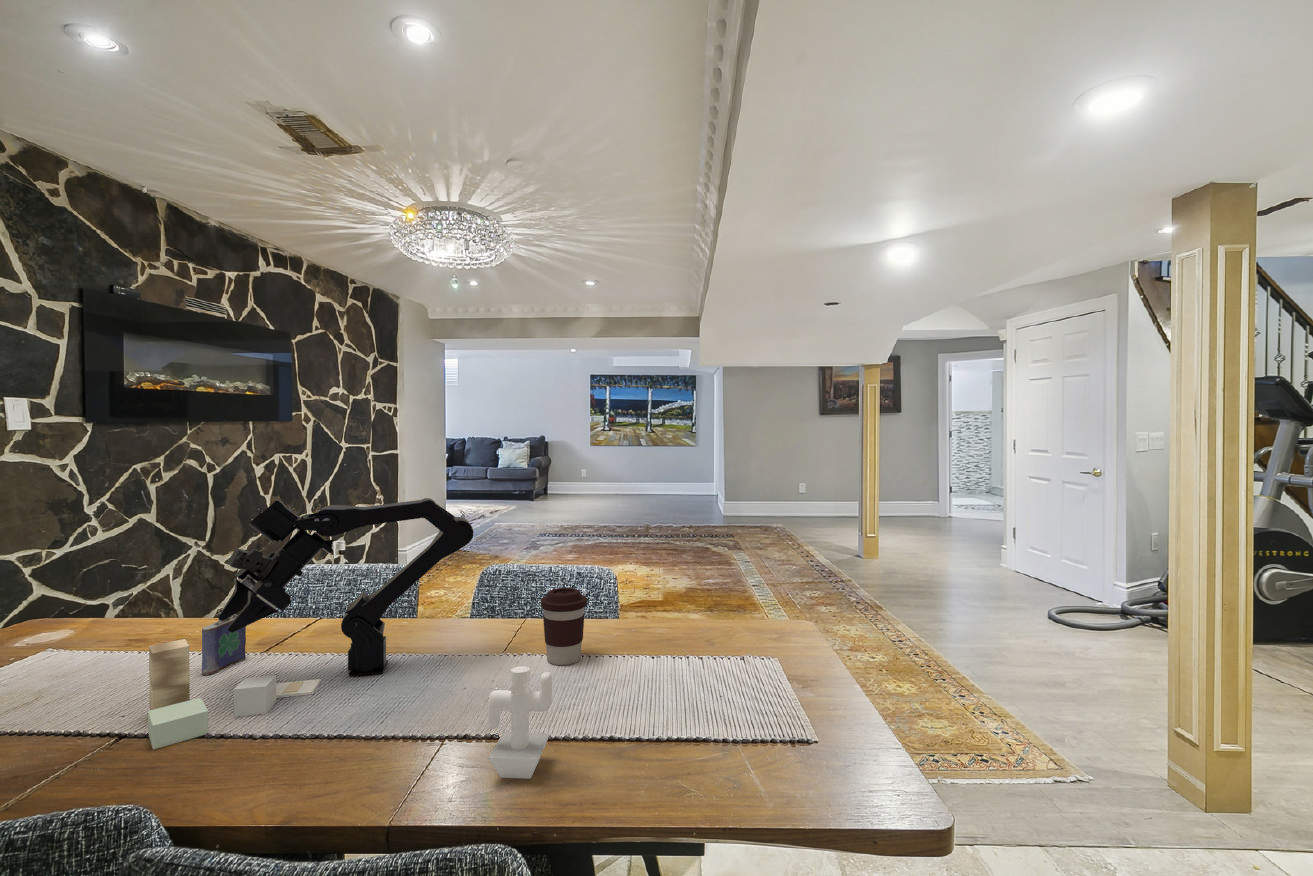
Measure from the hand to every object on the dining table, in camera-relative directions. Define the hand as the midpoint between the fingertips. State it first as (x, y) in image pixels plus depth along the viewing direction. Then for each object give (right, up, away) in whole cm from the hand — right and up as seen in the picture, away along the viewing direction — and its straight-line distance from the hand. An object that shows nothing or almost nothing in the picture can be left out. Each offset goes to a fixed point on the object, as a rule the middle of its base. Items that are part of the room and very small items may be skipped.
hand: (224, 625), depth 111 cm
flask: (-11, -14, +16) cm, 24 cm away
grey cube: (+8, -14, -4) cm, 17 cm away
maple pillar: (-6, -14, -6) cm, 16 cm away
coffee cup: (+60, -14, +19) cm, 65 cm away
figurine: (+60, -14, -23) cm, 66 cm away
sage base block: (+1, -14, -13) cm, 19 cm away
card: (+10, -14, +4) cm, 18 cm away
